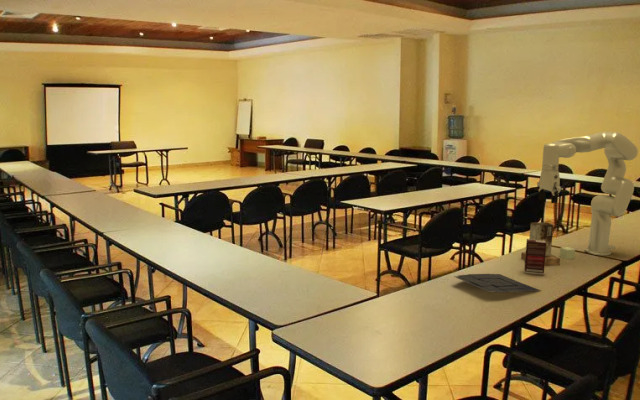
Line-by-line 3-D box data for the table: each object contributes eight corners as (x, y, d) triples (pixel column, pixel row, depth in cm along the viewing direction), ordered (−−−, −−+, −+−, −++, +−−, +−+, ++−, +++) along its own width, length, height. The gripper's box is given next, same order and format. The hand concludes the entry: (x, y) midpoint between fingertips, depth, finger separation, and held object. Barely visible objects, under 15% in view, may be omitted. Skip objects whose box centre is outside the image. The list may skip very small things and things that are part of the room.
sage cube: (567, 256, 272) (568, 247, 271) (574, 258, 267) (575, 249, 266) (559, 256, 271) (560, 247, 270) (565, 259, 266) (566, 250, 265)
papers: (449, 281, 227) (450, 273, 226) (498, 279, 241) (499, 272, 240) (490, 299, 206) (491, 291, 205) (540, 296, 219) (542, 288, 219)
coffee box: (544, 253, 264) (547, 222, 262) (551, 256, 258) (553, 224, 256) (527, 252, 264) (530, 222, 262) (533, 255, 257) (536, 224, 255)
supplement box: (542, 272, 244) (546, 240, 241) (543, 275, 240) (546, 242, 237) (523, 270, 247) (526, 238, 244) (524, 273, 243) (527, 240, 240)
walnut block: (542, 258, 269) (543, 251, 268) (559, 266, 256) (560, 258, 255) (520, 259, 266) (521, 252, 265) (536, 267, 253) (537, 259, 252)
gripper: (568, 169, 251) (565, 203, 254) (545, 165, 267) (542, 197, 270) (555, 170, 249) (552, 204, 252) (532, 166, 265) (530, 198, 269)
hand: (547, 201), depth 261 cm, fingers open, 9 cm apart
